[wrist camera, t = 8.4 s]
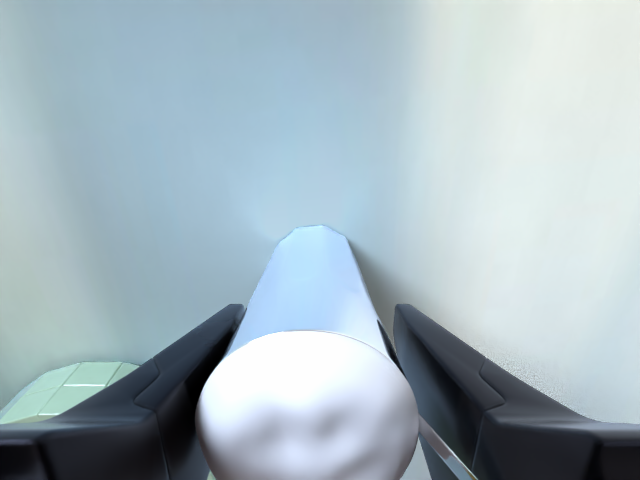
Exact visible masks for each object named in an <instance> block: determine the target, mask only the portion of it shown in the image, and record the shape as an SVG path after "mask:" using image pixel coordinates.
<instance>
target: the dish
mask: <svg viewBox="0 0 640 480" xmlns="http://www.w3.org/2000/svg"><path fill="white" fill-rule="evenodd" d="M138 367H140V366H138V365H134V364H130V363H126V362H124V363H123V362H80V363H76V364H73V365H69V366H66V367H62V368H59V369H55V370H52V371H48V372H46V373H44V374H42V375H41V376H40V377H38V378H37V379H36V380H34V381H33V382H31V383H30V384H29V385H27V386H26V387H24V388H23V389H22V390H20V391H19V392H18V393H17V394H16V395H15V396H14V398H13V399H12V400H11V401H10V402H9V403H8V404H7V405H6V406H5V407H4V408H3V409H2V410H1V411H0V424H11V423H32V422H39V421H43V420H46V419H50V418H52V417H55V416H57V415H59V414H61V413H63V412H65V411H67V410H68V409H70V408H72V407H73V406H75V405H77V404H79V403H80V402H82V401H84V400H85V399H87V398H89V397H91V396H92V395H94V394H96V393H97V392H99V391H101V390H103V389H104V388H106V387H108V386H109V385H111V384H113V383H114V382H116V381H118V380H119V379H121V378H123V377H124V376H126V375H127V374H129V373H131V372H132V371H134V370H135V369H137V368H138ZM207 480H216V478H215V477H214V475H213V474H212V472H211V470H210V472H209V475H208V479H207Z"/></svg>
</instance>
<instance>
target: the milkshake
mask: <svg viewBox="0 0 640 480" xmlns="http://www.w3.org/2000/svg"><path fill="white" fill-rule="evenodd" d="M195 427H196V432H197V437H198V440H199V444H200V446H201V449H202V452H203V455H204V457H205V460H206V462H207V464H208V466H209V468H210V470H211V472H212V474H213V475H214V477H215V478H216V480H400V478H401V477H402V476H403V474H404V472H405V471H406V469H407V467H408V465H409V464H410V462H411V459H412V457H413V454H414V451H415V448H416V444H417V440H418V433H419V432H420V433H421V435H422V436H423V437H424V438H425V439H426V440H427V442H428V443H429V444H430V445H431V446H432V448H433V449H434V450H435V451H436V452H437V454H438V455H439V456H440V457H441V458H442V459H443V461H444V462H445V463H446V464H447V465H448V467H449V468H450V469H451V470H452V471H453V473H454V474H455V475H456V476H457V477H458V479H459V480H478V479H477V478H476V476H475V475H474V474H473V473H472V472H471V471H470V470H469V469H468V467H467V466H466V465H465V464H464V463H463V462H462V461H461V460H460V458H459V457H458V456H457V455H456V454H455V453H454V452H453V451H452V450H451V448H450V447H449V446H448V445H447V444H446V443H445V442H444V441H443V439H442V438H441V437H440V436H439V435H438V434H437V433H436V432H435V430H434V429H433V428H432V427H431V426H430V425H429V424H428V423H427V421H426V420H425V419H424V418H423V417H422V416H421V415H420V414H419V412H418V408H417V403H416V400H415V397H414V394H413V391H412V389H411V387H410V385H409V383H408V380H407V378H406V376H405V373H404V371H403V369H402V367H401V364H400V362H399V360H398V358H397V355H396V353H395V351H394V349H393V346H392V344H391V342H390V340H389V338H388V335H387V333H386V331H385V329H384V327H383V324H382V322H381V320H380V319H379V317H378V315H377V313H376V311H375V308H374V306H373V303H372V300H371V298H370V295H369V292H368V290H367V287H366V284H365V282H364V279H363V276H362V274H361V271H360V268H359V266H358V263H357V260H356V258H355V256H354V254H353V252H352V250H351V248H350V245H349V243H348V241H347V239H346V237H344V236H343V235H341V234H339V233H337V232H335V231H333V230H331V229H329V228H328V227H326V226H324V225H317V226H308V227H298V228H296V229H294V230H293V231H292V232H291V233H290V234H289V235H288V236H287V237H285V238H284V239H283V240H282V241H281V242H280V243H278V244H277V246H276V248H275V250H274V252H273V254H272V256H271V258H270V260H269V262H268V264H267V266H266V268H265V270H264V272H263V274H262V277H261V279H260V281H259V283H258V285H257V287H256V289H255V291H254V293H253V295H252V297H251V299H250V301H249V303H248V306H247V308H246V310H245V312H244V314H243V316H242V317H241V319H240V321H239V323H238V325H237V327H236V328H235V330H234V332H233V334H232V336H231V338H230V339H229V341H228V343H227V345H226V347H225V348H224V350H223V352H222V354H221V356H220V358H219V359H218V361H217V363H216V365H215V367H214V368H213V370H212V372H211V374H210V376H209V378H208V380H207V382H206V384H205V385H204V387H203V390H202V392H201V395H200V397H199V400H198V403H197V407H196V412H195Z"/></svg>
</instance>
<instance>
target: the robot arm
mask: <svg viewBox="0 0 640 480" xmlns="http://www.w3.org/2000/svg"><path fill="white" fill-rule="evenodd" d="M244 312H245V310H244V306H243V305H242V304H230V305H228V306H226V307H225V308H224V309H222V310H221V311H219V312H218V313H216V314H215V315H213V316H212V317H211V318H209V319H208V320H206V321H205V322H203V323H202V324H200V325H199V326H198V327H196V328H195V329H193V330H192V331H190V332H189V333H187V334H186V335H185V336H183V337H182V338H180V339H179V340H177V341H176V342H174V343H173V344H172V345H170V346H169V347H167V348H166V349H164V350H163V351H161V352H160V353H159V354H157V355H156V356H154V357H153V358H151V359H150V360H148V361H147V362H145V363H144V364H143V365H141V366H140V367H138V368H137V369H135V370H134V371H132V372H131V373H129V374H127V375H126V376H124V377H123V378H121V379H119V380H118V381H116V382H114V383H113V384H111V385H109V386H108V387H106V388H104V389H103V390H101V391H99V392H97V393H96V394H94V395H92V396H91V397H89V398H87V399H85V400H84V401H82V402H80V403H79V404H77V405H75V406H73V407H72V408H70V409H68V410H67V411H65V412H63V413H61V414H59V415H57V416H55V417H52V418H50V419H46V420H43V421H39V422H32V423H11V424H0V480H207V479H208V475H209V472H210V468H209V466H208V464H207V462H206V460H205V457H204V455H203V452H202V449H201V446H200V444H199V440H198V437H197V432H196V427H195V412H196V407H197V403H198V400H199V397H200V395H201V392H202V390H203V387H204V385H205V384H206V382H207V380H208V378H209V376H210V374H211V372H212V370H213V368H214V367H215V365H216V363H217V361H218V359H219V358H220V356H221V354H222V352H223V350H224V348H225V347H226V345H227V343H228V341H229V339H230V338H231V336H232V334H233V332H234V330H235V328H236V327H237V325H238V323H239V321H240V319H241V317H242V316H243V314H244ZM393 334H394V340H395V346H396V352H397V358H398V360H399V362H400V364H401V367H402V369H403V371H404V373H405V376H406V378H407V380H408V383H409V385H410V387H411V389H412V391H413V394H414V397H415V400H416V403H417V408H418V412H419V414H420V415H421V416H422V417H423V418H424V419H425V420H426V421H427V423H428V424H429V425H430V426H431V427H432V428H433V429H434V430H435V432H436V433H437V434H438V435H439V436H440V437H441V438H442V439H443V441H444V442H445V443H446V444H447V445H448V446H449V447H450V448H451V450H452V451H453V452H454V453H455V454H456V455H457V456H458V457H459V458H460V460H461V461H462V462H463V463H464V464H465V465H466V466H467V467H468V469H469V470H470V471H471V472H472V473H473V474H474V475H475V476H476V478H477V479H478V480H640V424H627V423H607V422H600V421H596V420H592V419H589V418H587V417H584V416H582V415H580V414H578V413H576V412H574V411H572V410H570V409H569V408H567V407H565V406H564V405H562V404H560V403H558V402H557V401H555V400H553V399H552V398H550V397H548V396H547V395H545V394H543V393H541V392H540V391H538V390H536V389H535V388H533V387H531V386H529V385H528V384H526V383H524V382H523V381H521V380H520V379H518V378H516V377H515V376H513V375H511V374H510V373H508V372H507V371H505V370H504V369H502V368H501V367H499V366H498V365H496V364H495V363H493V362H492V361H491V360H489V359H488V358H486V357H485V356H483V355H482V354H480V353H479V352H478V351H476V350H475V349H473V348H472V347H470V346H469V345H467V344H466V343H465V342H463V341H462V340H460V339H459V338H457V337H456V336H455V335H453V334H452V333H450V332H449V331H447V330H446V329H444V328H443V327H442V326H440V325H439V324H437V323H436V322H434V321H433V320H431V319H430V318H429V317H427V316H426V315H424V314H423V313H421V312H420V311H419V310H417V309H416V308H414V307H413V306H411V305H410V304H397V305H396V306H395V314H394V325H393ZM418 436H419V439H420V442H421V446H422V449H423V452H424V456H425V459H426V462H427V465H428V469H429V472H430V475H431V478H432V480H459V479H458V477H457V476H456V475H455V474H454V473H453V471H452V470H451V469H450V468H449V467H448V465H447V464H446V463H445V462H444V461H443V459H442V458H441V457H440V456H439V455H438V454H437V452H436V451H435V450H434V449H433V448H432V446H431V445H430V444H429V443H428V442H427V440H426V439H425V438H424V437H423V436H422V435H421V433H420V432H419V433H418Z"/></svg>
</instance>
